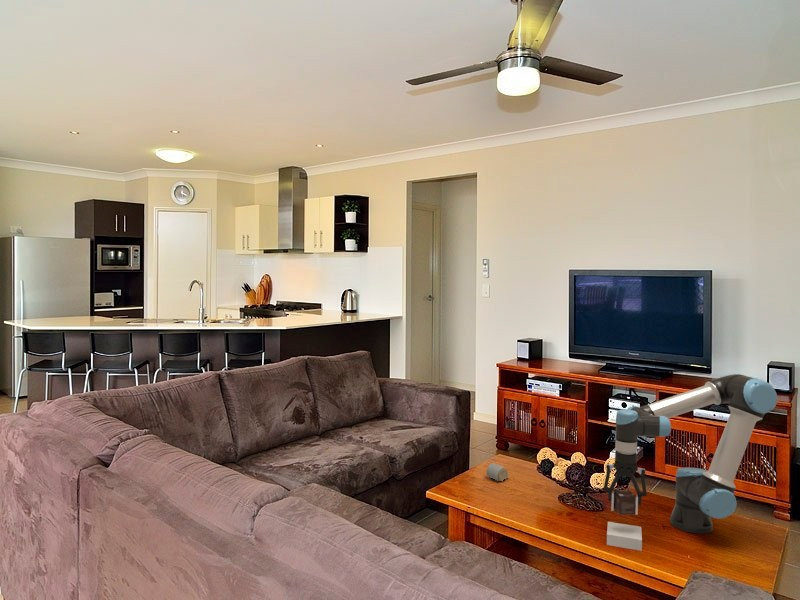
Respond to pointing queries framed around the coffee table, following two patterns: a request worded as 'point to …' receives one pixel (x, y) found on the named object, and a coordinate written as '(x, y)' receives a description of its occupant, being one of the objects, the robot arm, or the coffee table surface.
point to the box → (624, 502)
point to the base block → (624, 536)
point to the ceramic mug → (497, 472)
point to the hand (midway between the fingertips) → (624, 511)
